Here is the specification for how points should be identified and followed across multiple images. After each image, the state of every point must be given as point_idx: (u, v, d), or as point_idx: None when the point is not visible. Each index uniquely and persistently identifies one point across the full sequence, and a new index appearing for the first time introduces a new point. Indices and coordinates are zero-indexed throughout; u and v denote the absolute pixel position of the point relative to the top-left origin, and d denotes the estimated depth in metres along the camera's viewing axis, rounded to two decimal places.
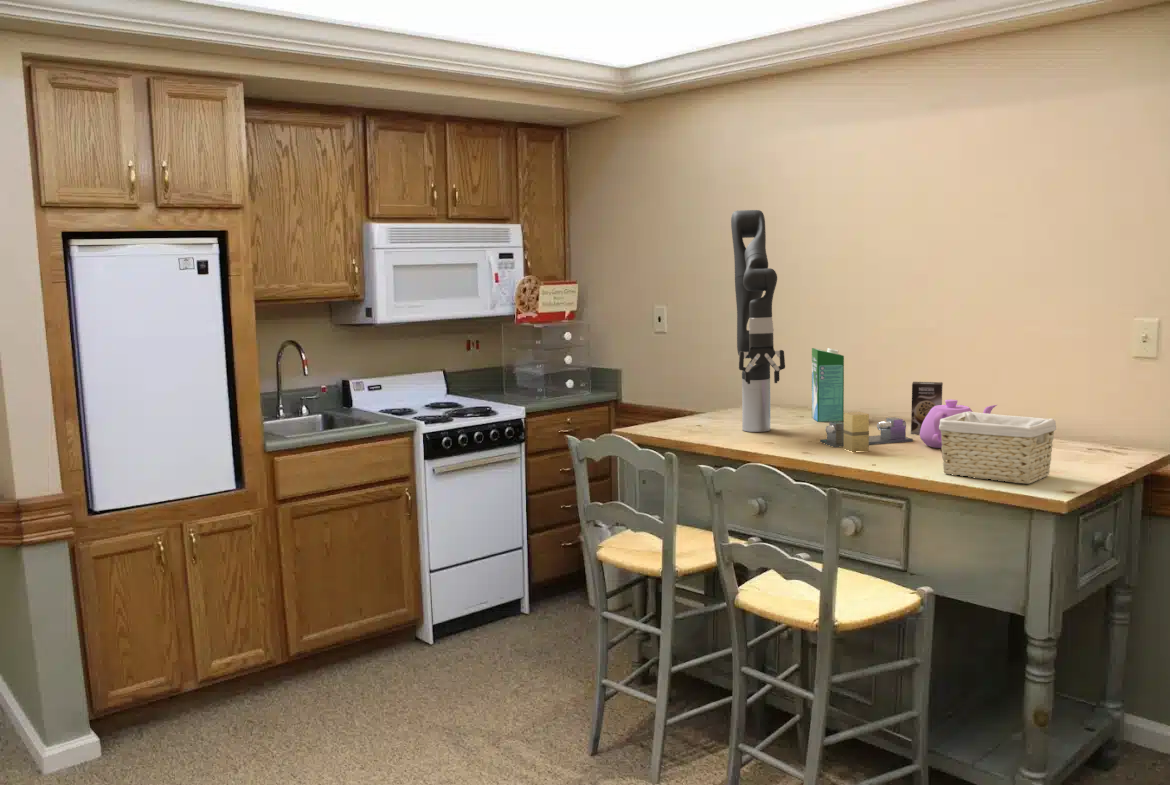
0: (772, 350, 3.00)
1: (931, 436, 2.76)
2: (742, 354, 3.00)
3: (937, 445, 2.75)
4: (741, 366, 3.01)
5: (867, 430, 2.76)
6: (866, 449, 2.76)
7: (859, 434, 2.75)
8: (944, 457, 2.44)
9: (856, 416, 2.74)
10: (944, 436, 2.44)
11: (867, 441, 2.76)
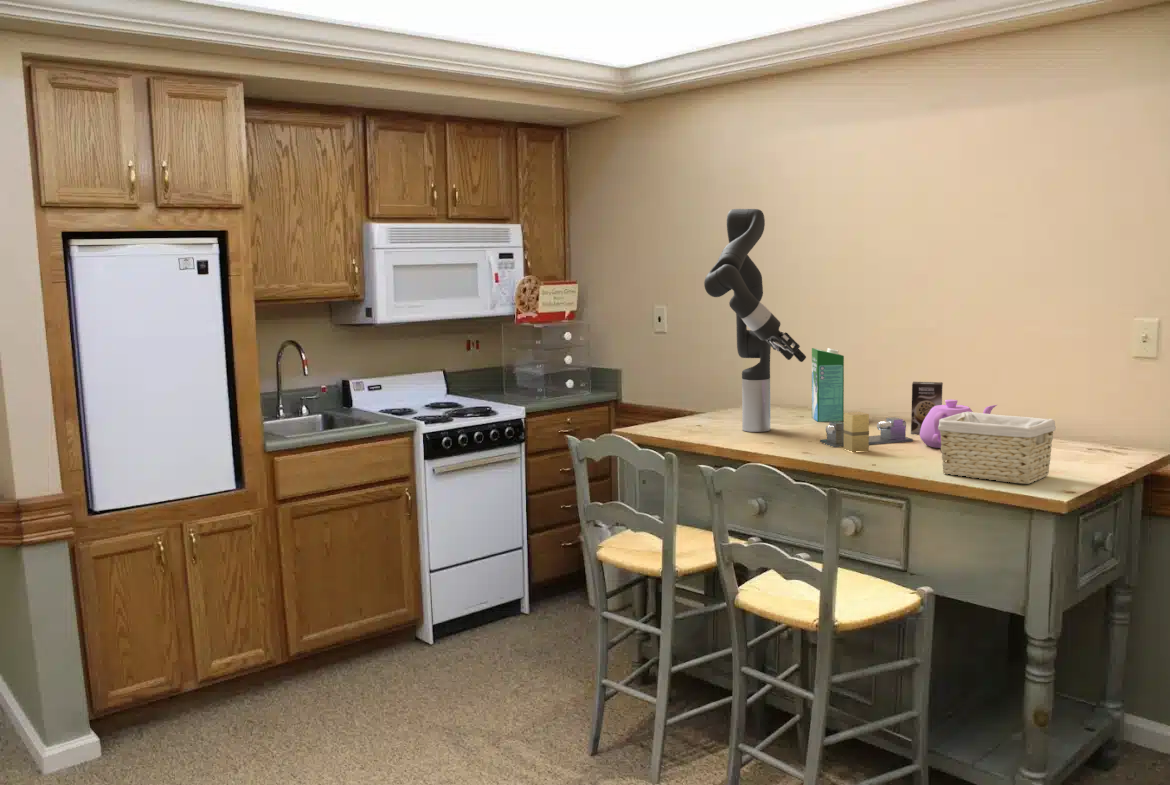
0: (776, 337, 2.73)
1: (931, 436, 2.76)
2: None
3: (937, 445, 2.75)
4: (772, 347, 2.83)
5: (867, 430, 2.76)
6: (866, 449, 2.76)
7: (859, 434, 2.75)
8: (943, 457, 2.44)
9: (856, 416, 2.74)
10: (943, 436, 2.44)
11: (867, 441, 2.76)
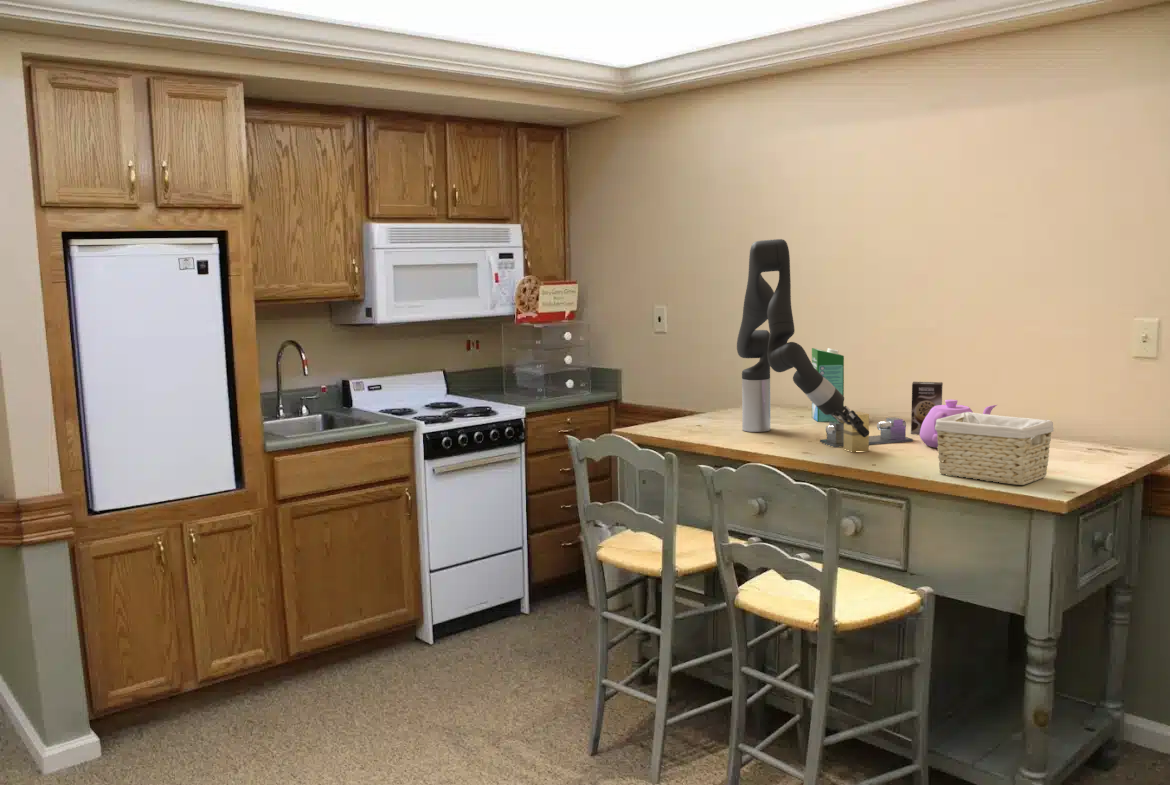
0: (840, 413, 2.72)
1: (931, 436, 2.76)
2: None
3: (937, 445, 2.75)
4: (838, 421, 2.82)
5: None
6: (866, 449, 2.76)
7: (859, 434, 2.75)
8: (940, 457, 2.44)
9: None
10: (940, 436, 2.44)
11: (867, 441, 2.76)
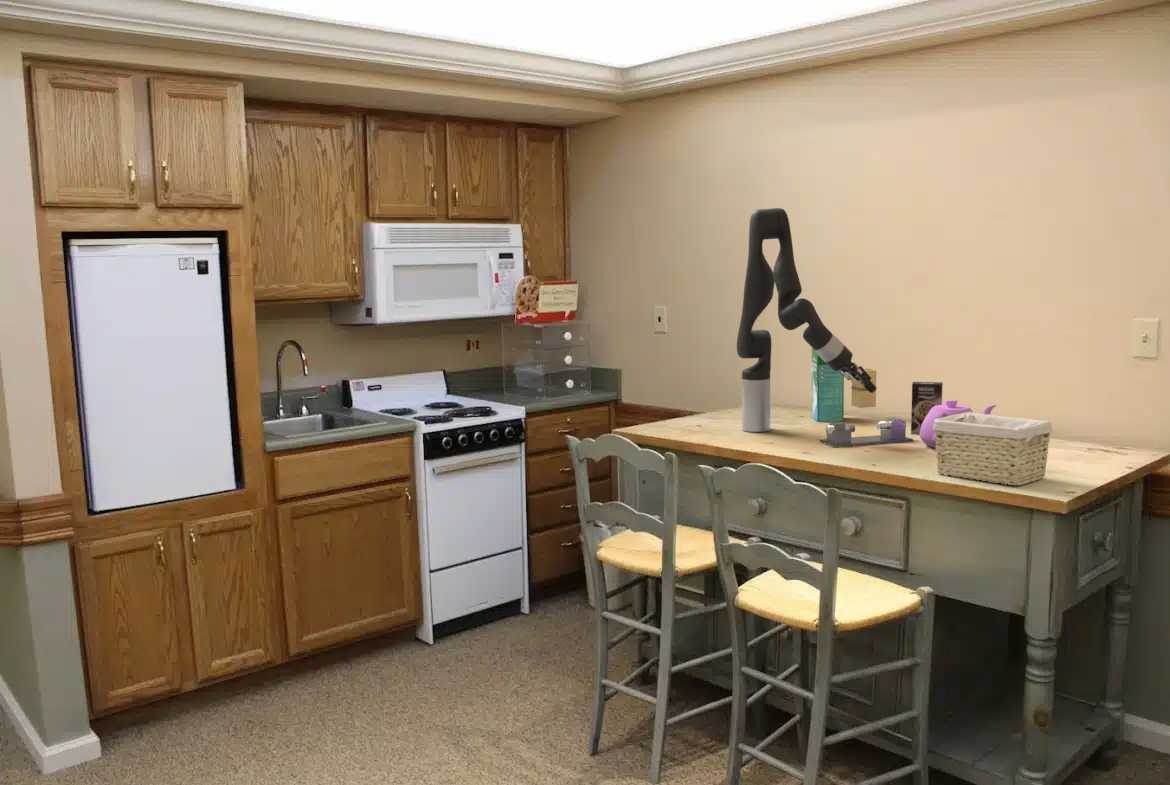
0: (848, 368, 2.81)
1: (931, 436, 2.76)
2: None
3: None
4: (846, 377, 2.91)
5: None
6: (873, 404, 2.86)
7: (867, 390, 2.85)
8: (938, 457, 2.44)
9: None
10: (938, 436, 2.44)
11: (874, 396, 2.85)
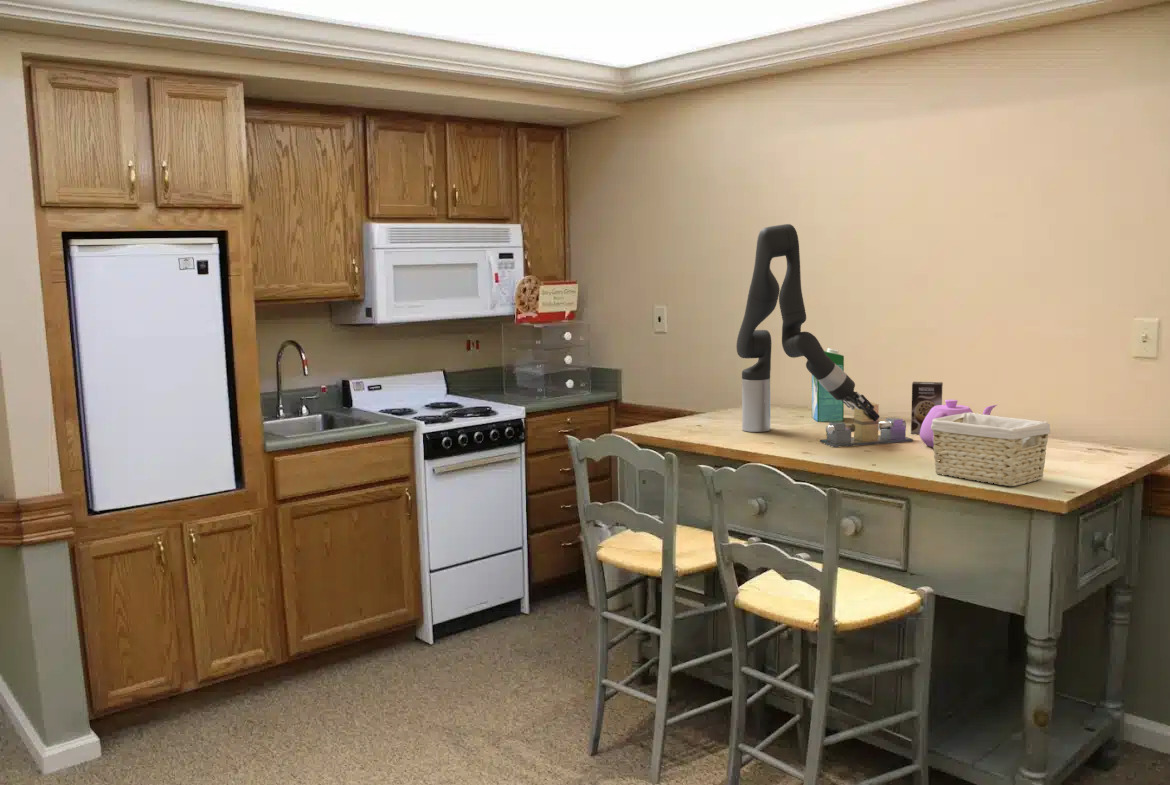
0: (851, 398, 2.85)
1: (931, 436, 2.76)
2: None
3: None
4: (846, 405, 2.95)
5: None
6: (876, 438, 2.89)
7: (869, 423, 2.88)
8: (935, 457, 2.45)
9: (866, 406, 2.87)
10: (936, 436, 2.44)
11: (877, 430, 2.89)
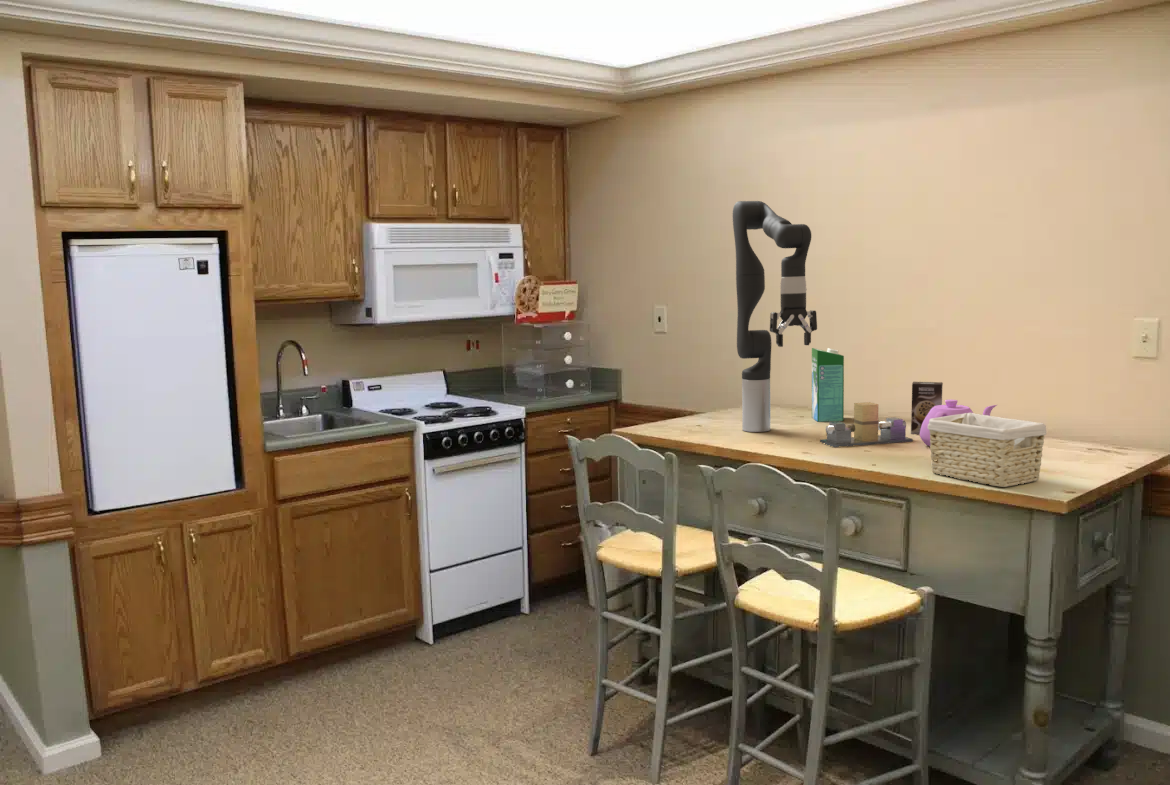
0: (805, 311, 2.86)
1: None
2: (776, 315, 2.84)
3: None
4: (774, 328, 2.84)
5: (876, 419, 2.88)
6: (876, 438, 2.89)
7: (869, 423, 2.88)
8: (932, 456, 2.45)
9: (866, 406, 2.87)
10: (932, 436, 2.45)
11: (877, 430, 2.89)
